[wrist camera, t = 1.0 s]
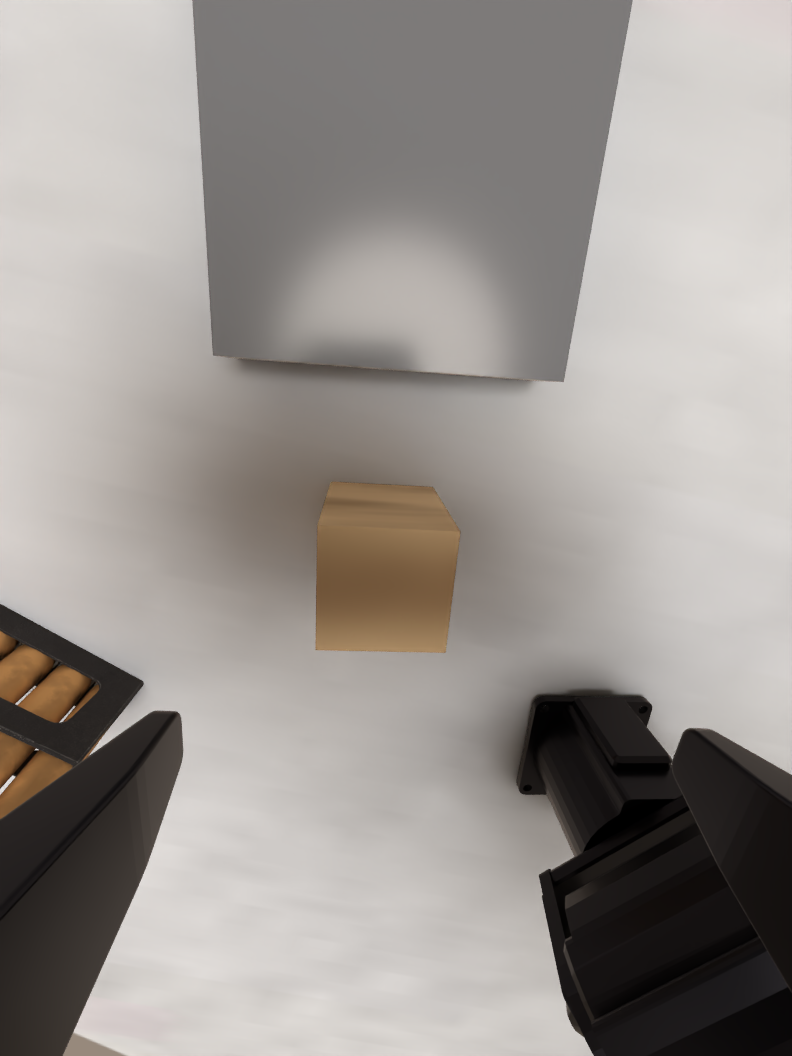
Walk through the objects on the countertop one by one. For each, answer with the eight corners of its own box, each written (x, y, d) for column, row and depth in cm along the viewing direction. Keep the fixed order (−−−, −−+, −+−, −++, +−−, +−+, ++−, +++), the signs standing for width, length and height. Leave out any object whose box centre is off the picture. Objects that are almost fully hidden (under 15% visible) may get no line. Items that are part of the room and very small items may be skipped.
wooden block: (423, 578, 21) (445, 652, 16) (328, 575, 21) (315, 650, 15) (432, 486, 20) (460, 531, 14) (330, 481, 19) (316, 525, 14)
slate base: (532, 380, 19) (563, 381, 16) (237, 358, 17) (213, 355, 15) (593, -1, 15) (648, -90, 12) (219, -59, 14) (182, -173, 11)
